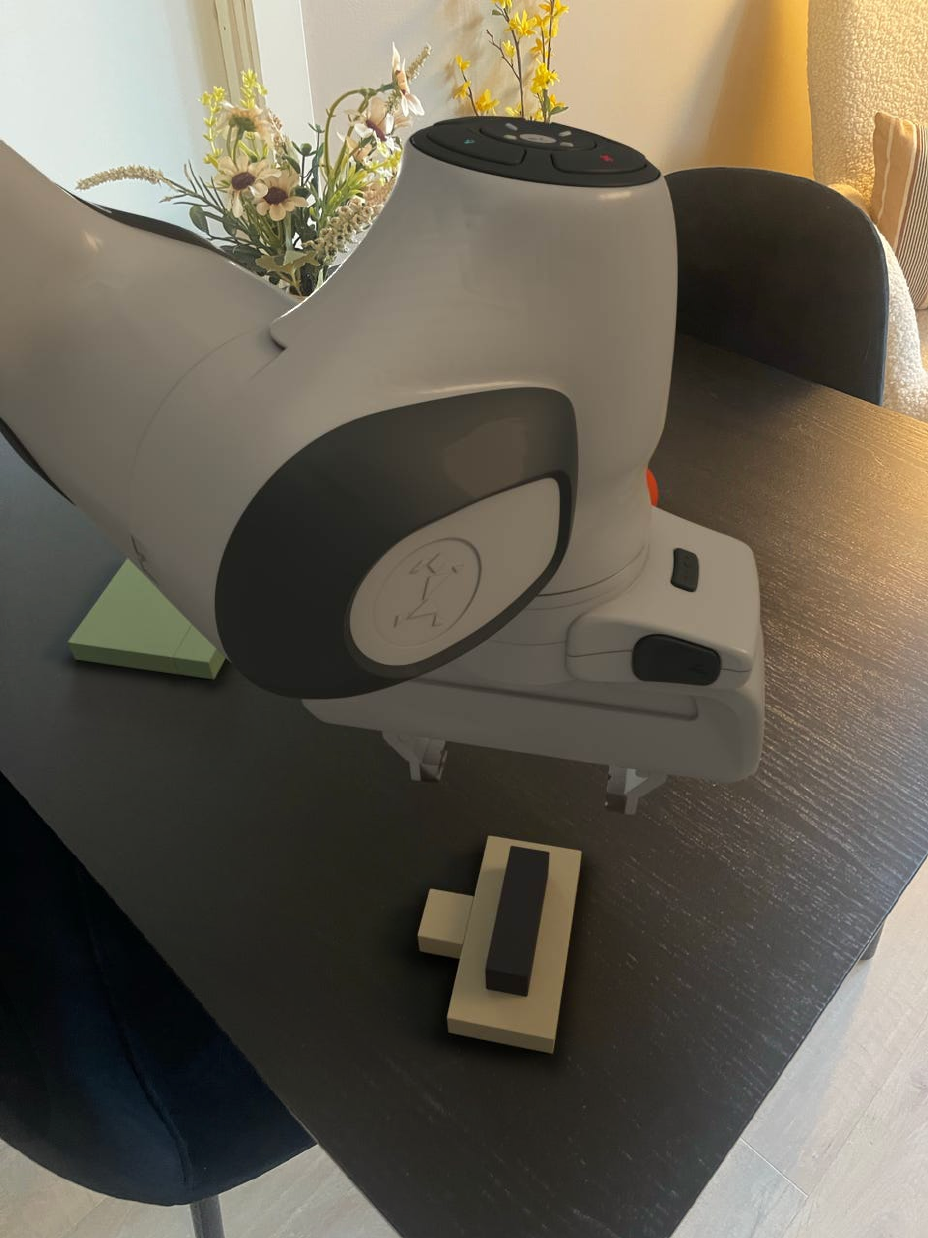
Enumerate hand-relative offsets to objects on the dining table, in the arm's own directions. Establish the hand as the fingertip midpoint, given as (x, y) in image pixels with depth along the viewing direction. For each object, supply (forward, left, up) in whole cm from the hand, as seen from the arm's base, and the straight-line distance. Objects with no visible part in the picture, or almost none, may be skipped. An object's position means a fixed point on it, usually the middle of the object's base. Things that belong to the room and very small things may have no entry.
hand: (523, 786), depth 47 cm
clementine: (+41, -2, -16) cm, 44 cm away
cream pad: (0, +2, -16) cm, 16 cm away
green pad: (+23, +33, -16) cm, 43 cm away
